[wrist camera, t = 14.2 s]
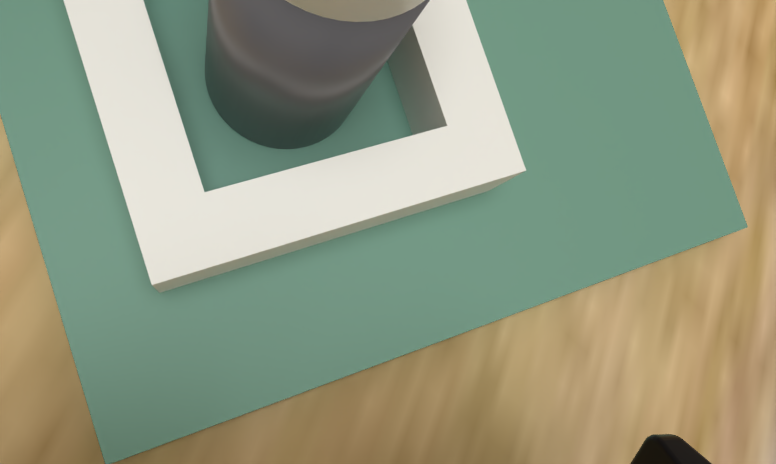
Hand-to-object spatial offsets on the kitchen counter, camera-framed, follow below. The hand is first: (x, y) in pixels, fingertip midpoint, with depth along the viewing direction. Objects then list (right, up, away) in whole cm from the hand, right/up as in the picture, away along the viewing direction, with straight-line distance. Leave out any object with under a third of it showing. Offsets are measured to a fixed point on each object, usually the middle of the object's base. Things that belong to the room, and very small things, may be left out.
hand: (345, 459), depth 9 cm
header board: (+1, +7, +16) cm, 17 cm away
